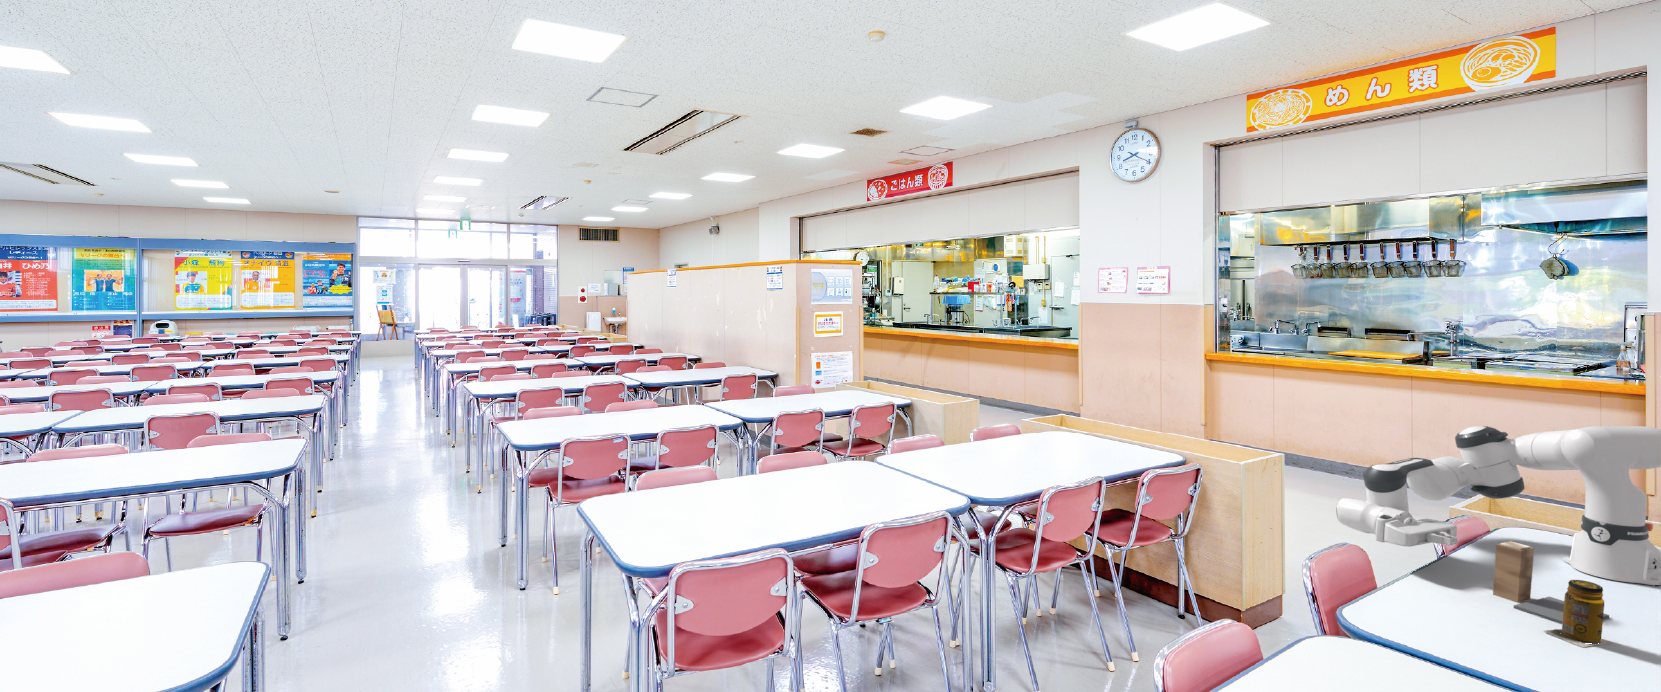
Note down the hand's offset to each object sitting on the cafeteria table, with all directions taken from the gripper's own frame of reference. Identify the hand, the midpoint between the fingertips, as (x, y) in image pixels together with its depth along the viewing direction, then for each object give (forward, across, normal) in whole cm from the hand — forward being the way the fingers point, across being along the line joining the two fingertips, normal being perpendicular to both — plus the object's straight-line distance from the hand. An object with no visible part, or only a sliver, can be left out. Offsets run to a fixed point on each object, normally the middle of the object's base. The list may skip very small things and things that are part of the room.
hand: (1453, 541), depth 194 cm
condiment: (+31, +12, -10) cm, 35 cm away
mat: (+22, 0, -10) cm, 24 cm away
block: (+13, 0, -10) cm, 16 cm away
